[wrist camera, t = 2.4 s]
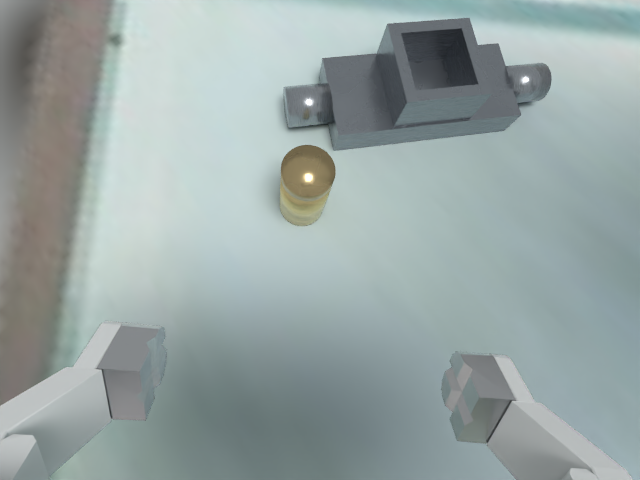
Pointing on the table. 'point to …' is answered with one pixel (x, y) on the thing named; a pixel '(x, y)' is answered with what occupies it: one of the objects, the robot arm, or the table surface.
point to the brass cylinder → (305, 184)
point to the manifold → (416, 88)
